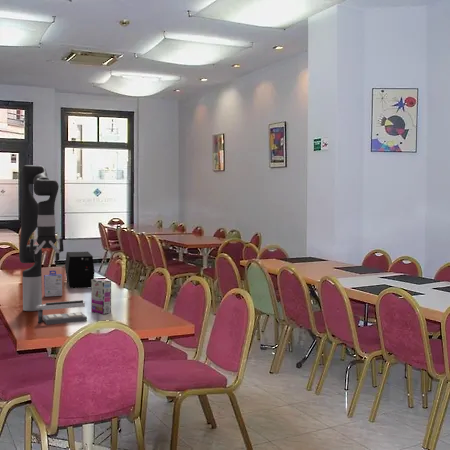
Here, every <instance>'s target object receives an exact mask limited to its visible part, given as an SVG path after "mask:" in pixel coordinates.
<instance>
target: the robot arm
mask: <svg viewBox="0 0 450 450" xmlns="http://www.w3.org/2000/svg"><path fill="white" fill-rule="evenodd" d="M30 185H32V186H33V187H32V188H33V189H32V190H33V193H34V194H35V195H37V196H38V197H39V196H40V197H41V196H42V197H45V196H46V197H48V199H47V200H42V201H39V202H37V200H36V199H35V197H34V196H33V194H32V192H31V190H30ZM58 192H59V183H58V182H57V180H55V179H50V178H49V177H48V174H47V170H46V167H44V166H43V165H38V164H36V165H35V164H25V165H23V166H22V169H21V194H22V195H21V211H20V242H19V251H18V256H19V257H18V258H19V262H20V263H22V264H33V263H34V264H33V265H32V266H31V267H29V268H27V269H24V270H23V271H22V311H24V312H25V311H26V312H36V311H37V312H38V310H37V305H43V292H42V291H43V286H42V283H43V281H42V278H43V277H42V263H43V261H42V260H43V251H42V250H43V249H53V251H54V252H55V253H54V254H55V255H54V256H55V258H54V259H55V262H59V260H60V253H62V252H64V239H63V238H62V237H58V238H56V216H55V214H56V213H55V211H56V210H55V208H56V207H55V206H56V205H55V204H56V201H57V195H58ZM35 230H37V237H36V238H31V236H32V235H33V233H34V232H35ZM28 242H29V244H28ZM56 243H58V244H59V249H58V248H57V246H56Z"/></svg>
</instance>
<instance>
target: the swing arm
mask: <svg viewBox="0 0 450 450" xmlns="http://www.w3.org/2000/svg"><path fill="white" fill-rule="evenodd" d="M85 304H86V303H85V302H84V300H83V299H82V300H70V301H67V300H66V301H54V302H45V304H44V303H42V305H37V311H38V310H43V311H47V310H59V309H61V310H62V309H75V308H85Z"/></svg>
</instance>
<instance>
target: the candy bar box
mask: <svg viewBox="0 0 450 450" xmlns="http://www.w3.org/2000/svg"><path fill="white" fill-rule="evenodd" d="M90 293H91V297H90V298H91V300H90V301H91V312H92V313H95V314H98V315H110V314H112V280H107V279H103V278H102V279H101V278H96V279H95V278H94V280H91V292H90Z"/></svg>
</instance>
